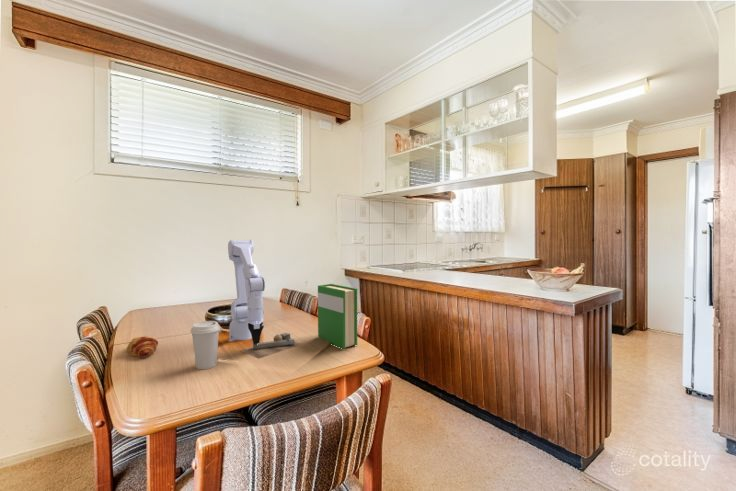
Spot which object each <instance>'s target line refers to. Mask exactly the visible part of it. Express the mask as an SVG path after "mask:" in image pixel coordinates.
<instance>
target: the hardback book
mask: <svg viewBox="0 0 736 491" xmlns="http://www.w3.org/2000/svg"><path fill="white" fill-rule="evenodd" d="M317 334H318V335H317V337H318V339H321V340H323V341H326V342H329V343H330V344H332V345H335V346H337V347H340V348H342V349H345V350H346V348H348V347H351V346H353V345H357V346H358V288H356V287H355V288H354V287H350V286H344V285H339V284H335V283H329V284H328V283H326V284H320V285H317ZM332 345H331V346H332ZM337 347H336V348H337Z"/></svg>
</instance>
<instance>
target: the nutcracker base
mask: <svg viewBox="0 0 736 491" xmlns="http://www.w3.org/2000/svg"><path fill="white" fill-rule="evenodd" d="M279 335H281V336H282V338H283V339H282V340H287V339H288V338H291V333H288V332H283V333H280V334H279ZM297 346H301V343H300V342H297V341H295V344H291V345H283V346H275V347H266V348H258V349H253V347H250V348H247V349H243V350H241V352H242V353H245V354H247V355H249V356H251V357H254V358H256V359H262V358H264V357H267V356H271V355H274V354H277V353H280V352H282V351H285V350H286V351H287V350H288V349H291V348H294V347H297Z"/></svg>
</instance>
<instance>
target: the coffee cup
mask: <svg viewBox="0 0 736 491" xmlns="http://www.w3.org/2000/svg"><path fill="white" fill-rule="evenodd" d="M220 330H221V325H220V324H219V322H218V321H215V320H205V321H200V322H196V323H193V325H192V327H191V328H190V331H189V332H190V334H191V336H192V344H193V345H192V346H193V351H194V361H195V368H196V370H210V369H213V368H214V367H216V366H217V363H218V362H217V361H218V350H219V349H218V348H219V337H220V336H219V333H220Z"/></svg>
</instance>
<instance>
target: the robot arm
mask: <svg viewBox="0 0 736 491" xmlns="http://www.w3.org/2000/svg"><path fill="white" fill-rule="evenodd" d="M254 247H255V246H254V241H253V240H252V239H237V240H234V239H230V240H229V241H228V242H227V250H228V251H227V252H228V258H229V259H228V260H230V261H232V263H233V265H234V274H235V275H234V276H235V286H236V297H237V298H236V299H235V300H234V301H232V302H231V303H230V316H231V317H230V318H231V321H230V323H229V326H228V327H229V328H228V330H229V333H228V334H229V339H228V340H227V341H228V342H234V341H246V340H251V339H252V345H253V344H258V343H260V340H261V335H262V332H263V329H264V328H265V327H264V325H263V324H264V302H263V301H264V298H263V297H264V296H263V295H264V292H265V289H266V284H265V282H266V281H265V279H264V278H265V277H263V276H262V275H261V274H260V272H259V268H258V266H257V264H255V263H254V262H253V257H252V255H253V253H254V250H255V248H254Z"/></svg>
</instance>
